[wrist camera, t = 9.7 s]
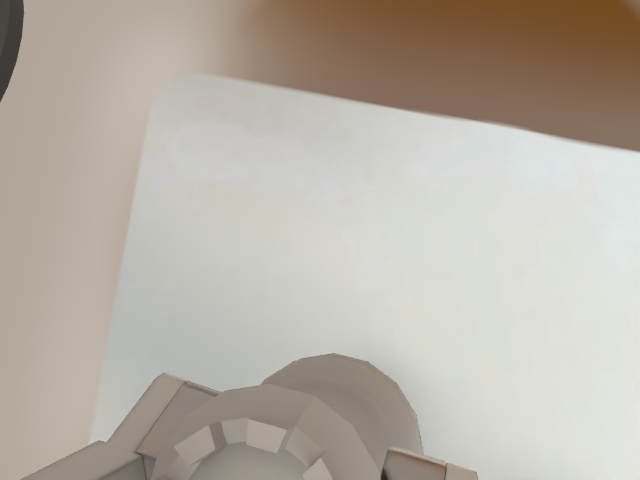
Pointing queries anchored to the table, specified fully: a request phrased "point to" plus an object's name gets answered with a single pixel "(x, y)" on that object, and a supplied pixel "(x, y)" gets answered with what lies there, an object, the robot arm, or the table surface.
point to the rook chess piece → (295, 427)
